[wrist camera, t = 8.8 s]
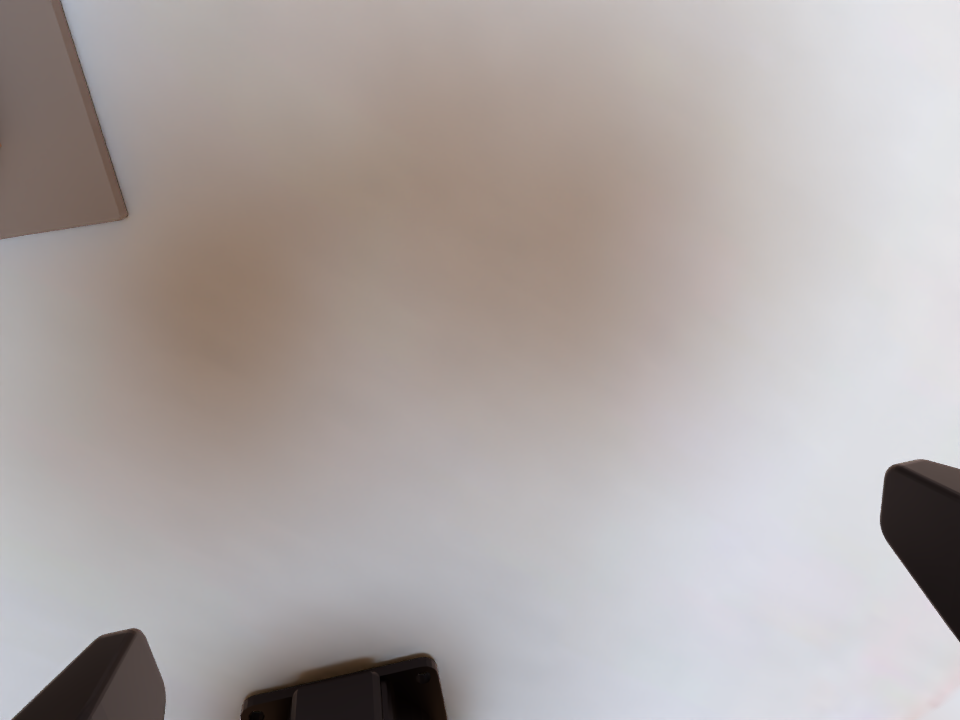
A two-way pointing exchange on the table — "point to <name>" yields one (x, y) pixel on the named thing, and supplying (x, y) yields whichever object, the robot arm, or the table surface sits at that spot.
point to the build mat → (48, 128)
